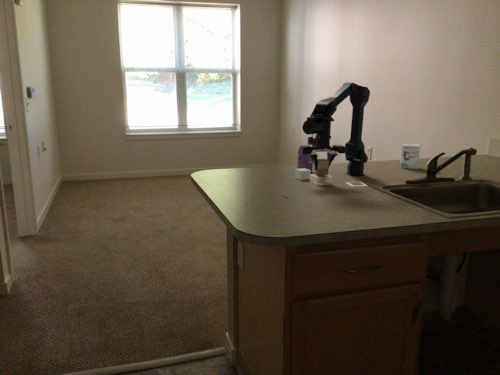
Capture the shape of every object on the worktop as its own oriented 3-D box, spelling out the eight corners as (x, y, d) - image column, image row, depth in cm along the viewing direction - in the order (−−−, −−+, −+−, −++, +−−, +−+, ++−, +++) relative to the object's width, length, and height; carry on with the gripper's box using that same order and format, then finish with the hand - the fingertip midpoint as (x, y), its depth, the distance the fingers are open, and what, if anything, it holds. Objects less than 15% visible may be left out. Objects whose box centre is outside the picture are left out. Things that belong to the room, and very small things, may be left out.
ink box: (417, 167, 225) (420, 144, 223) (418, 169, 221) (420, 145, 218) (399, 166, 228) (402, 143, 225) (400, 168, 223) (402, 144, 220)
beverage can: (312, 170, 213) (313, 145, 210) (312, 173, 206) (313, 148, 203) (297, 170, 214) (298, 145, 211) (297, 173, 207) (298, 147, 204)
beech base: (324, 181, 193) (324, 173, 193) (331, 185, 187) (332, 176, 186) (309, 182, 191) (309, 174, 190) (316, 186, 185) (317, 177, 184)
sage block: (304, 176, 200) (304, 168, 199) (310, 179, 196) (310, 170, 195) (294, 177, 198) (295, 169, 197) (300, 180, 194) (300, 171, 193)
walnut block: (328, 175, 186) (328, 160, 185) (317, 175, 186) (318, 161, 184) (324, 172, 191) (325, 159, 189) (314, 173, 190) (315, 159, 188)
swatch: (360, 182, 191) (360, 181, 191) (367, 186, 184) (367, 185, 184) (345, 182, 190) (345, 181, 189) (351, 186, 183) (352, 185, 183)
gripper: (337, 130, 193) (335, 165, 197) (296, 130, 190) (294, 166, 194) (347, 133, 183) (345, 170, 187) (304, 133, 179) (302, 171, 183)
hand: (321, 169), depth 188 cm, fingers open, 5 cm apart
